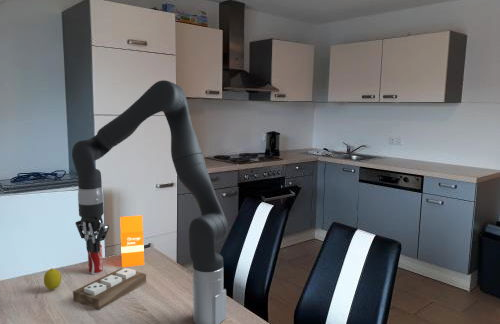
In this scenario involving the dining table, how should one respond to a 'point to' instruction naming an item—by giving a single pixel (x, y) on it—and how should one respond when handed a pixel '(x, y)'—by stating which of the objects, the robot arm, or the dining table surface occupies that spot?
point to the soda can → (95, 262)
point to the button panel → (109, 291)
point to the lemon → (52, 279)
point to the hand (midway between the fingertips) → (93, 251)
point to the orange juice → (132, 241)
